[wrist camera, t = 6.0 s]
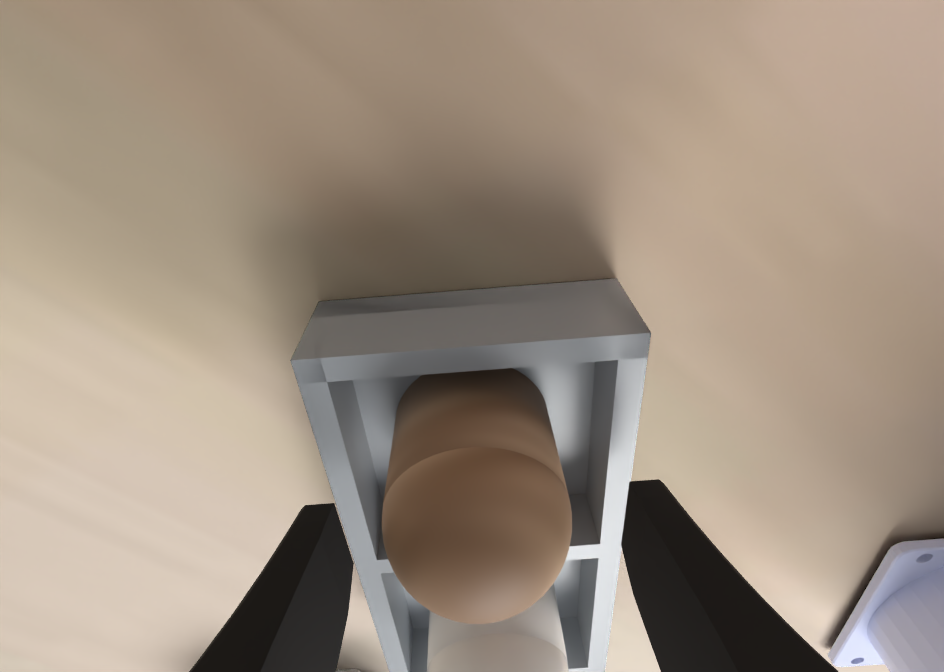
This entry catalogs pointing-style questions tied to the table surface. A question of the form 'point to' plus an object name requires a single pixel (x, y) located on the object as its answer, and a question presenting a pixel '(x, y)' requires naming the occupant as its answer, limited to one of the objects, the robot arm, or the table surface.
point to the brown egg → (475, 496)
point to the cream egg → (500, 642)
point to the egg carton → (349, 670)
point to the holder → (472, 349)
